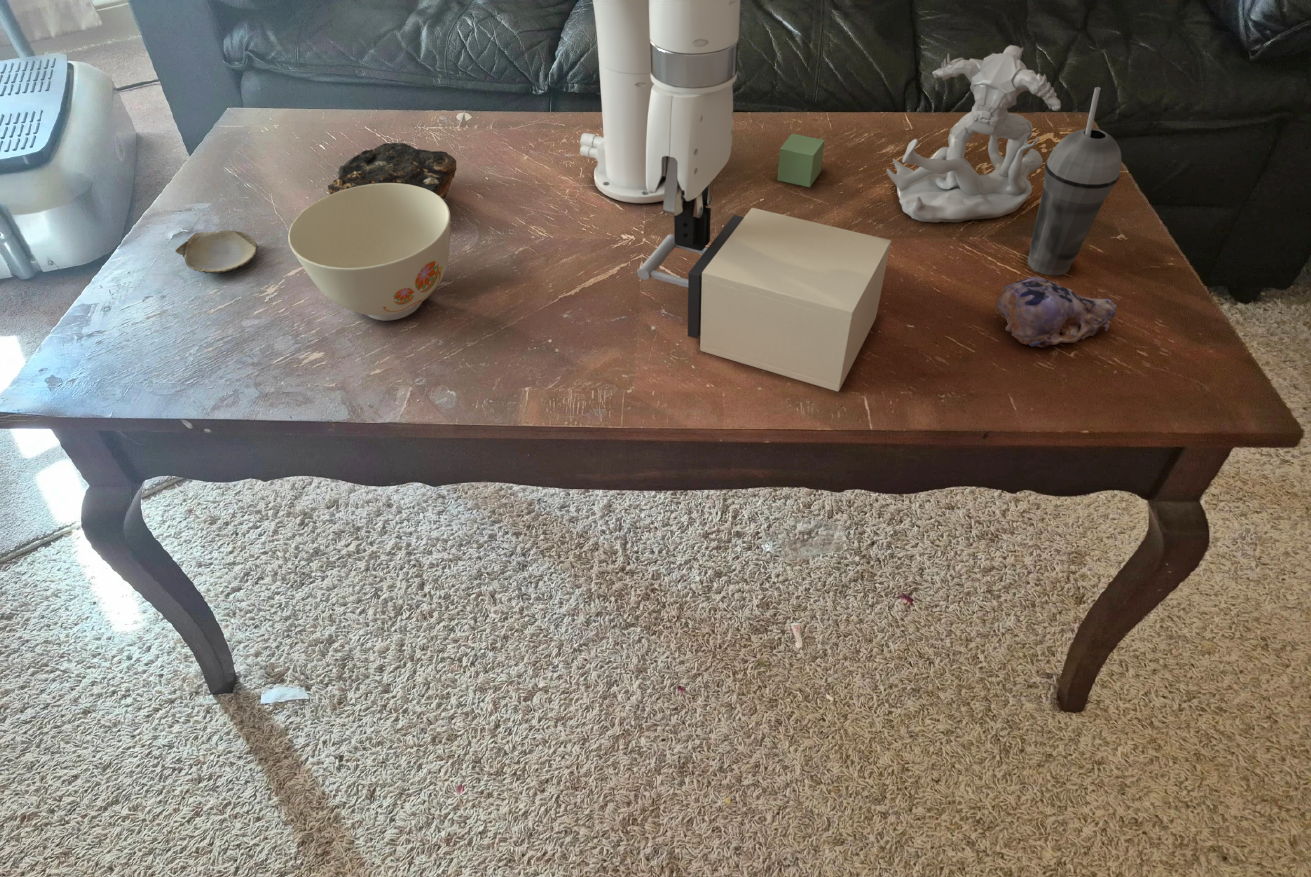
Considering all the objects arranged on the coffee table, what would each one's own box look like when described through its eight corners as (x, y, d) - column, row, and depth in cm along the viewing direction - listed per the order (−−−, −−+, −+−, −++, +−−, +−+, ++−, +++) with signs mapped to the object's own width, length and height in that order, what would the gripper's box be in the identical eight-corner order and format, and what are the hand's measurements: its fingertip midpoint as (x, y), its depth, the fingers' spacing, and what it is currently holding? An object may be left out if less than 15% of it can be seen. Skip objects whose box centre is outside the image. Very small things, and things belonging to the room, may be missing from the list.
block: (777, 180, 113) (779, 148, 109) (788, 164, 115) (792, 133, 112) (809, 187, 111) (813, 155, 108) (820, 171, 114) (825, 139, 111)
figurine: (1014, 169, 113) (1058, 25, 100) (1050, 223, 104) (1102, 72, 92) (877, 175, 113) (903, 31, 100) (901, 229, 104) (933, 79, 91)
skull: (1102, 303, 92) (1122, 259, 88) (1119, 358, 88) (1142, 315, 83) (984, 304, 94) (997, 260, 89) (995, 358, 89) (1010, 315, 84)
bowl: (336, 368, 88) (306, 287, 81) (303, 286, 98) (274, 206, 91) (487, 321, 93) (471, 240, 86) (440, 247, 103) (423, 169, 96)
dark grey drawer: (629, 319, 92) (625, 255, 86) (675, 262, 99) (675, 200, 93) (813, 373, 85) (823, 308, 80) (849, 308, 92) (860, 244, 87)
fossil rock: (375, 172, 116) (363, 130, 111) (472, 183, 113) (464, 141, 109) (323, 229, 106) (309, 186, 102) (428, 243, 104) (418, 199, 100)
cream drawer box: (700, 351, 89) (701, 272, 82) (746, 284, 97) (751, 207, 90) (838, 392, 84) (852, 312, 78) (875, 318, 92) (891, 240, 85)
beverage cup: (1087, 286, 96) (1158, 108, 81) (1017, 279, 97) (1075, 102, 82) (1078, 248, 101) (1144, 75, 86) (1012, 242, 102) (1066, 70, 87)
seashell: (232, 298, 100) (274, 248, 103) (222, 281, 97) (265, 231, 101) (172, 273, 101) (216, 224, 105) (160, 255, 98) (205, 206, 102)
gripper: (690, 23, 81) (689, 201, 94) (614, 85, 72) (624, 274, 85) (766, 35, 79) (754, 216, 92) (698, 101, 69) (695, 293, 82)
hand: (692, 243), depth 88 cm, fingers closed
